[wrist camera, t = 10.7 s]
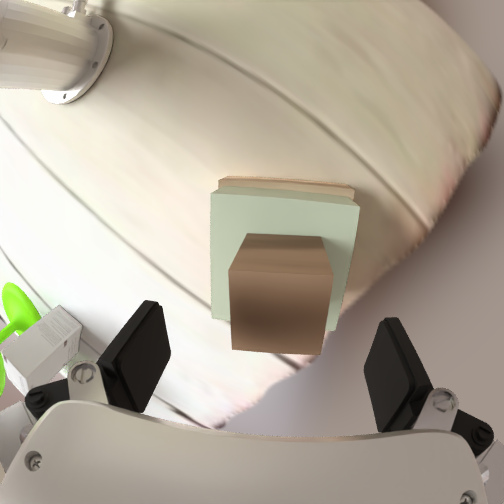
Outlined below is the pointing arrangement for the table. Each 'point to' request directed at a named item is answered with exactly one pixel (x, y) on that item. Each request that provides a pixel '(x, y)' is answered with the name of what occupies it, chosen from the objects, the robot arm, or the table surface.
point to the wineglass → (15, 318)
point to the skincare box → (42, 350)
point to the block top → (283, 223)
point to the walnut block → (280, 294)
